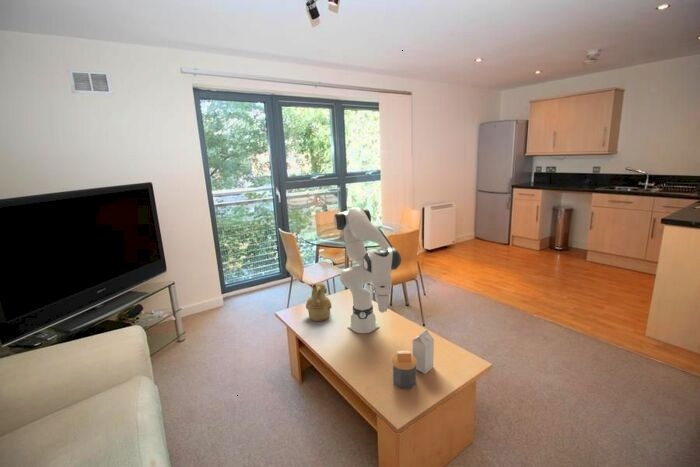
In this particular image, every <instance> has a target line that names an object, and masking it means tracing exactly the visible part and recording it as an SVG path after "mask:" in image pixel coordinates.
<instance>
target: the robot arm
mask: <svg viewBox="0 0 700 467" xmlns="http://www.w3.org/2000/svg"><path fill="white" fill-rule="evenodd" d="M333 224H334V227H335V229H337V230H338V231H343V237H344V238H343V239H344V244H345V249H346V255H347V257H348V258H349V259H350V261H353V262H356V263H357V264H358V265H356V266H350V267H346V268H344V269H342V270H341V272H340V274H339V280H340V283H341V284H342V285H343V286H344V287H346V288H347V289H348V290H349V291H350V292H351V296H352V302H353V303H352V304H353V305H352V312H351V313H350V321H349V323H348V325H347V329H349V330H351V331H352V332H355V333H358V334H368V333H372V332H374V331H375V330H376V329H379V328H380V325H379V322H378V321H377V318H376V314H375V312H374V306H373V299H372V298H373V294H372V292H371V290H369V289H367V288H366V287H365V288H364V287H363V285H367V284H368V285H369V284H371V285H372V287H371V288H372V289H373V291H374V293H375V295H376V301H377V307H378V311H379V312H380V313H385V312H388V308H389V307H388V306H389V296H390V295H391V290H392V276H391V275H392V274H391V272H392V270H393V271H395V270H397V269H398V268H399V266H401V264H402V257H401V254H400V252H399V251H398V250H397V249H396V248H394V246H393V245H392V242H390V241H389V239H388V238H387V236H386V235H385V234H384V232H383V230H381V228H379V227H377V226H376V225H374V224H373V223H372V215H371V212H370V210H369V209H368V208H362V207H360V206H359V207H358V206H355V207H354V206H353V207H351V208H350V209H349V210H345V211H339V212H337V213H335V214H334V215H333ZM364 241H369V242H374V243H375V244H377V245H378V246H379V247H380V248H376V249H374V250H373V251H370V252H367V249H366V246H365V242H364Z"/></svg>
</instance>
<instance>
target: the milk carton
mask: <svg viewBox="0 0 700 467" xmlns="http://www.w3.org/2000/svg"><path fill="white" fill-rule="evenodd" d="M434 343H435V340H434V337H433V336H432V334H430V332H429V330H428V328H427V329H425V330H423V331H422V332H421V333H420V334H419V333H418V335H417V336H416V337H414V338H413V339H412V355H413V356H414V357H415V358H416V360H417V365H416V371H419V372H421V373H423V374H424V375H425V374H428V372H429V371H431V370H432V369H433V368H434V356H435V355H434V351H435V349H434V347H435V344H434Z"/></svg>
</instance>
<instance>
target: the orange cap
mask: <svg viewBox="0 0 700 467" xmlns="http://www.w3.org/2000/svg"><path fill="white" fill-rule="evenodd" d="M391 364H392V367H393V366H394V367H396V368H398V369H401V370H410V369H413V368H414V367H415V366H416V365H417V360H416V358H415V357H414V356H413V354H412V350H408V349H406V350H396V353H395V354H394V355H392V357H391Z"/></svg>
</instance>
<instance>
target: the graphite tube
mask: <svg viewBox="0 0 700 467" xmlns="http://www.w3.org/2000/svg"><path fill="white" fill-rule="evenodd" d="M392 380H393V385H394V386H395V387H397V388H398V389H400V390H412V388H413V387H415V386H416V385H417V370H416V366H415V367H414V368H413V369H410V370H401V369H398V368H396V367H394V366H393V365H392Z"/></svg>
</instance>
